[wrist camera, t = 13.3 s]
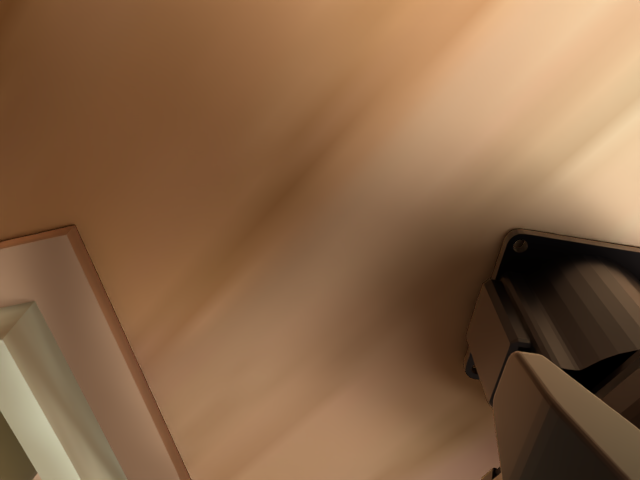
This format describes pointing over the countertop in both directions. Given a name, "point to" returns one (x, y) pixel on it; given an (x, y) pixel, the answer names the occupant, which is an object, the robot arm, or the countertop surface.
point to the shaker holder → (74, 370)
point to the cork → (13, 456)
